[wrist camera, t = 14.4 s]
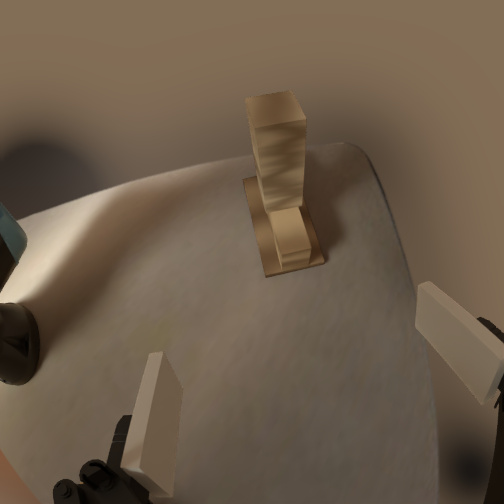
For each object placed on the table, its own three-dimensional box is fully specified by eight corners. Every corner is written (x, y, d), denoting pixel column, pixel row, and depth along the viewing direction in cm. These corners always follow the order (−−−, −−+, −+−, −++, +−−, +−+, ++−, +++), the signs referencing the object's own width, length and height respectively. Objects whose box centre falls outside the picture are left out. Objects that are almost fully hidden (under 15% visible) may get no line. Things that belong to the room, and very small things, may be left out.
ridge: (323, 264, 39) (330, 243, 34) (265, 277, 40) (262, 259, 34) (292, 172, 46) (293, 144, 40) (243, 182, 46) (237, 155, 40)
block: (266, 213, 36) (254, 128, 23) (258, 184, 38) (244, 98, 25) (301, 205, 36) (306, 118, 23) (292, 177, 38) (291, 90, 25)
